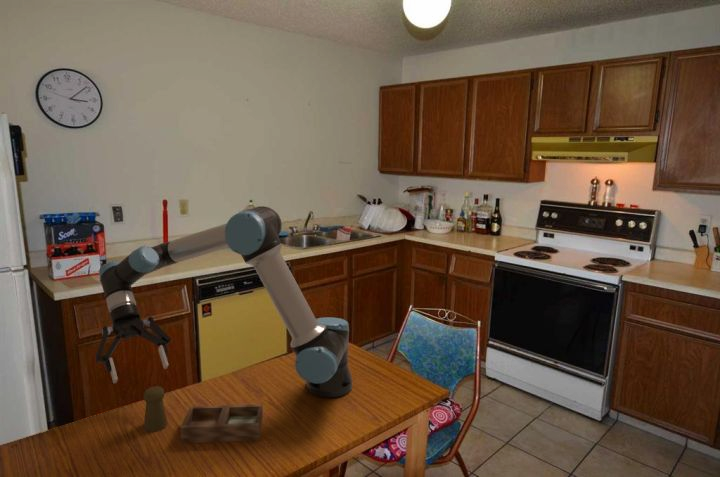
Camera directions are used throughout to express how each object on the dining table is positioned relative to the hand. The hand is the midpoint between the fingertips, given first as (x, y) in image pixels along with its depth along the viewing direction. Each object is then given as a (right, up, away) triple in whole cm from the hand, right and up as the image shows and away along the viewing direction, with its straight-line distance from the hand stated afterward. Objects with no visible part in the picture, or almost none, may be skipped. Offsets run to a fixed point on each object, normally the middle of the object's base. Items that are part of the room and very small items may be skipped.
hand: (142, 374), depth 129 cm
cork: (+5, -14, -3) cm, 15 cm away
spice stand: (+25, -14, -4) cm, 29 cm away
